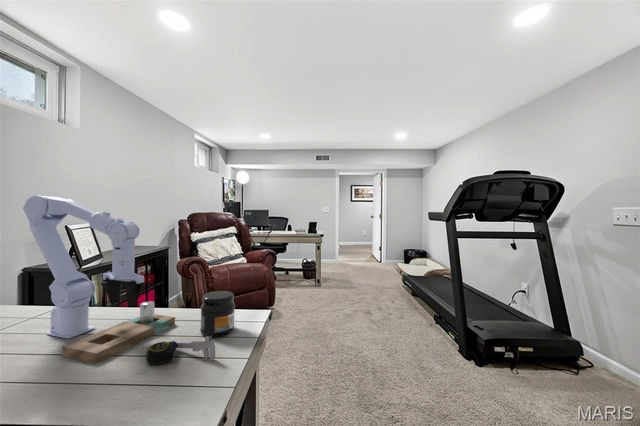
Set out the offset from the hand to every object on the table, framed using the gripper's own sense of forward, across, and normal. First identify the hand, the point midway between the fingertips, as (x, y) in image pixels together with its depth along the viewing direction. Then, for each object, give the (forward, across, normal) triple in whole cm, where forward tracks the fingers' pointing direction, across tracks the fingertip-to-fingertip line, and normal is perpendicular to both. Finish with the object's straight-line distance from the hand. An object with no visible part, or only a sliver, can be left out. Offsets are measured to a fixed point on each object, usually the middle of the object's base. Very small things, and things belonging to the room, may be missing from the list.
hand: (122, 303), depth 88 cm
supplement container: (+10, +27, +11) cm, 31 cm away
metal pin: (+9, +4, +5) cm, 11 cm away
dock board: (+9, +4, -2) cm, 10 cm away
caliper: (+10, +27, -4) cm, 29 cm away
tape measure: (+10, +24, -8) cm, 27 cm away
